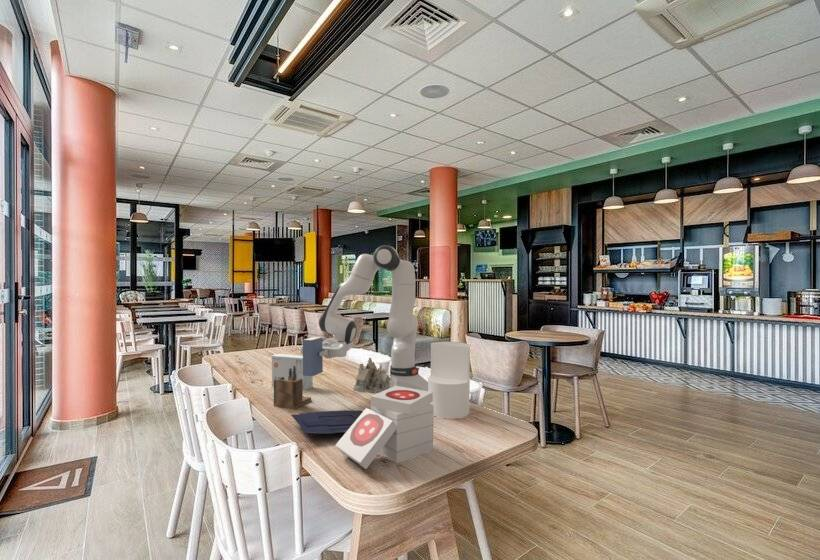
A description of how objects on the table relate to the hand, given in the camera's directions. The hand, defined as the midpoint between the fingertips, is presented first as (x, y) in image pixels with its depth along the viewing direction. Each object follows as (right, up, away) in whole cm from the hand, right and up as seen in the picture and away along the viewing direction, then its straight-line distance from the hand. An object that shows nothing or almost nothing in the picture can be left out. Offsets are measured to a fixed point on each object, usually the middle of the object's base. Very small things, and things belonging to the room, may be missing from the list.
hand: (312, 353), depth 173 cm
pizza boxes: (+35, -24, -43) cm, 61 cm away
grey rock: (+22, -23, +29) cm, 44 cm away
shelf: (-10, -23, +6) cm, 26 cm away
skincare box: (-18, -23, +32) cm, 44 cm away
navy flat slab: (+14, -24, -21) cm, 35 cm away
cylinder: (+58, -24, -4) cm, 63 cm away
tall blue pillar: (0, -9, 0) cm, 9 cm away
